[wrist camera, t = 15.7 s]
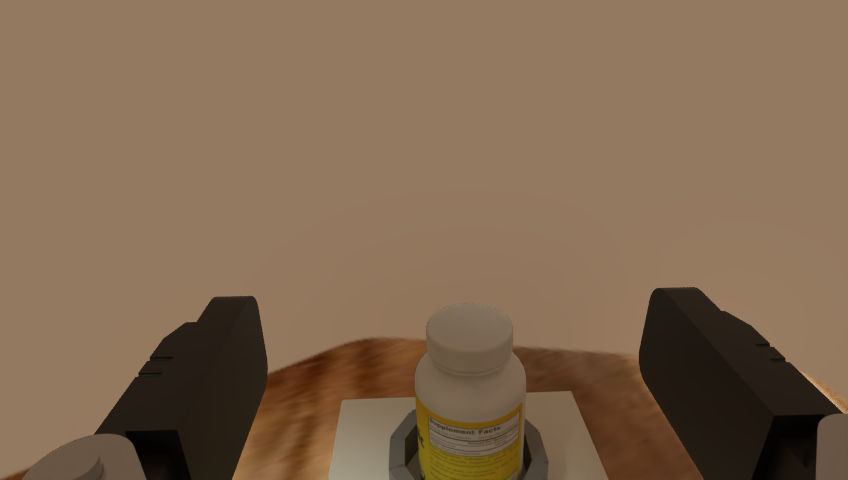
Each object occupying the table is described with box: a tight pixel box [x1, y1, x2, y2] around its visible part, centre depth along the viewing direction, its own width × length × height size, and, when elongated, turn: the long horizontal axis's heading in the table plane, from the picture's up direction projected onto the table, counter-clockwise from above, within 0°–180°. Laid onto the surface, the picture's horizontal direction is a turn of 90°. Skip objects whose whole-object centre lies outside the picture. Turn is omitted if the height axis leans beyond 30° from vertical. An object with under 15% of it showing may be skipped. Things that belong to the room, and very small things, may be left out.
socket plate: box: [328, 391, 609, 480], centre depth 28 cm, size 15×13×3 cm
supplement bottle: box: [415, 303, 526, 480], centre depth 26 cm, size 5×5×10 cm
